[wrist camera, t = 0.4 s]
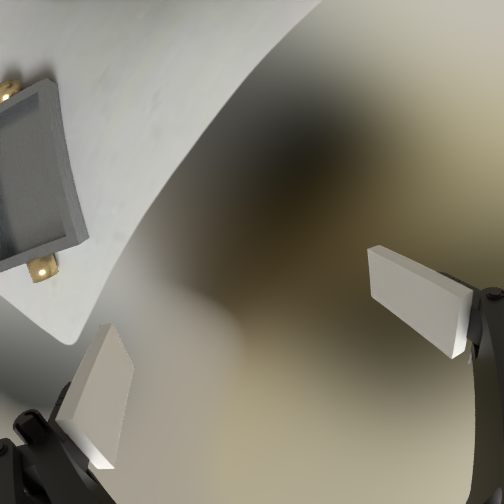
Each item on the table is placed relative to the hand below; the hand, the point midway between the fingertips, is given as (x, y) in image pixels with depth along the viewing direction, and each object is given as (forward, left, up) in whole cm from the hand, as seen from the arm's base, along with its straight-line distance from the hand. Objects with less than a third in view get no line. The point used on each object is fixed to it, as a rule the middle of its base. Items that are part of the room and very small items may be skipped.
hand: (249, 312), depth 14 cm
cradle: (-14, -25, -27) cm, 40 cm away
